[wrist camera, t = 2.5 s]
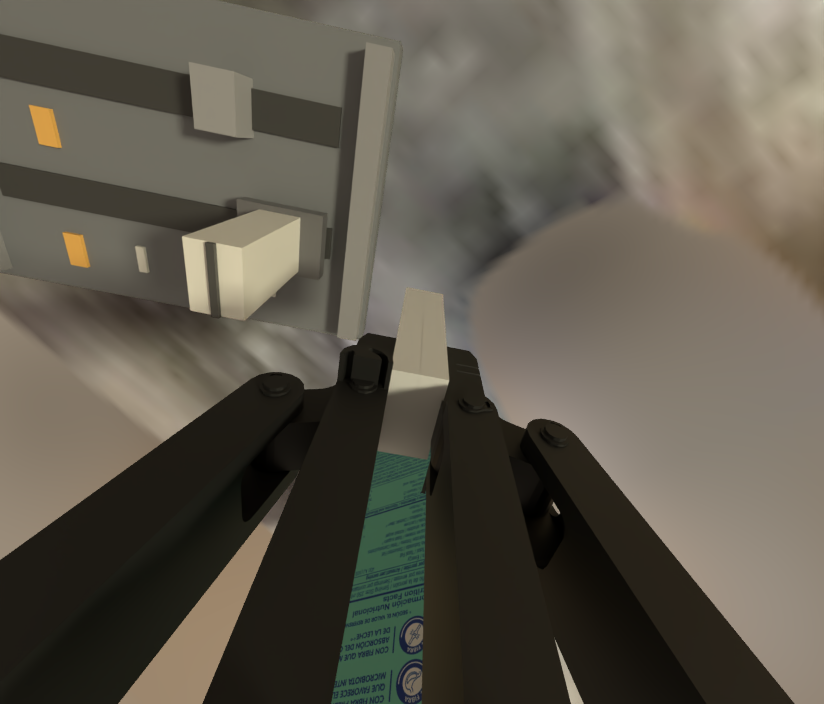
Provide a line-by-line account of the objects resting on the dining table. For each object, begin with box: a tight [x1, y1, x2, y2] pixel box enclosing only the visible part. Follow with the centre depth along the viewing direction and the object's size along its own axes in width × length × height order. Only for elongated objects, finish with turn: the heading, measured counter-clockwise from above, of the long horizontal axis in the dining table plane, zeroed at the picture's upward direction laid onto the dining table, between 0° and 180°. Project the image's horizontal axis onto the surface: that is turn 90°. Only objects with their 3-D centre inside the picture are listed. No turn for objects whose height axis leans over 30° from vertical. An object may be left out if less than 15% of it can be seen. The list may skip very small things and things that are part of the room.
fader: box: [182, 197, 328, 321], centre depth 18 cm, size 4×5×8 cm
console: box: [0, 0, 403, 341], centre depth 20 cm, size 16×24×4 cm, turn 79°
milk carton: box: [331, 448, 431, 704], centre depth 22 cm, size 9×9×25 cm
